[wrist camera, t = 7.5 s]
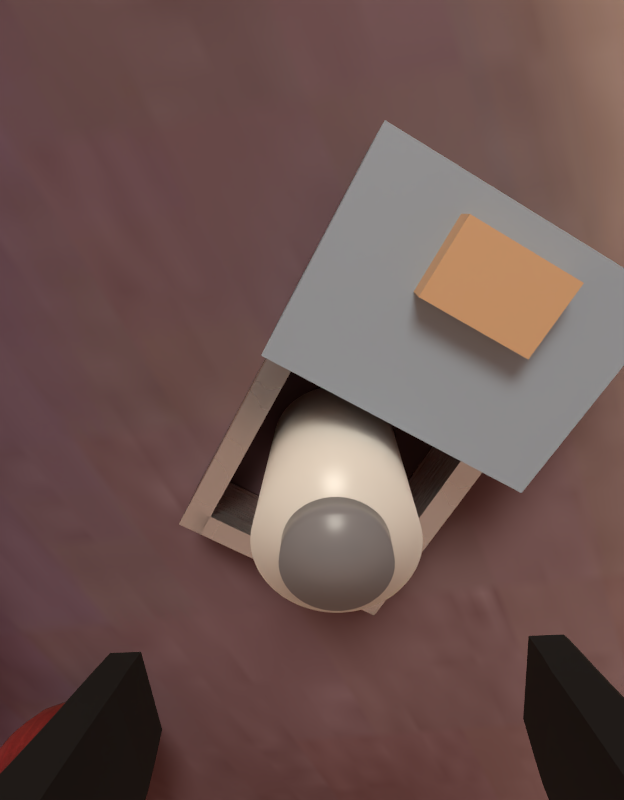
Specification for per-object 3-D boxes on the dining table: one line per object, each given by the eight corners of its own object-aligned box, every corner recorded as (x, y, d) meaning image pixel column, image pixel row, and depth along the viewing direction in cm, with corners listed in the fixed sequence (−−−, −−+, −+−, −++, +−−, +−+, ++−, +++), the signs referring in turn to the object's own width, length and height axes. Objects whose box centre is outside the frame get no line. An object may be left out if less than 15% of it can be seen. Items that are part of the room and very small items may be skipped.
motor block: (587, 277, 16) (698, 305, 11) (478, 428, 18) (531, 509, 13) (370, 145, 15) (389, 113, 10) (278, 320, 17) (257, 364, 12)
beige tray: (479, 416, 18) (501, 447, 16) (369, 569, 21) (374, 615, 18) (289, 312, 17) (282, 328, 15) (197, 486, 20) (179, 524, 17)
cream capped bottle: (392, 382, 18) (427, 478, 11) (396, 492, 19) (429, 631, 13) (266, 391, 18) (233, 490, 12) (280, 499, 20) (257, 639, 13)
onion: (84, 760, 25) (-22, 994, 18) (14, 679, 23) (-136, 899, 16) (186, 729, 24) (119, 963, 17) (121, 641, 22) (15, 858, 15)
